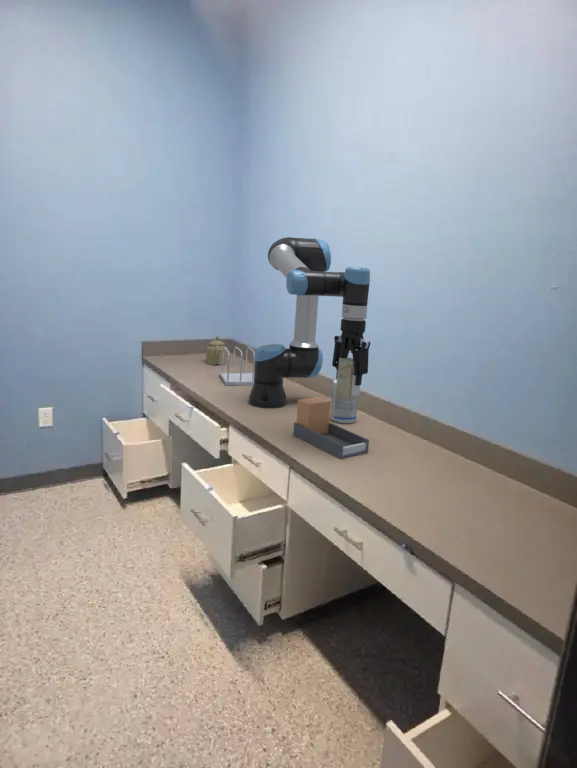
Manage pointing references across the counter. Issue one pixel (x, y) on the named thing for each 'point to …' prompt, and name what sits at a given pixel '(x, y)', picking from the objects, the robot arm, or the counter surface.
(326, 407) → the block
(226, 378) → the file sorter
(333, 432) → the tray
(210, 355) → the sugar bowl
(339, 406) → the supplement tub
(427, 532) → the counter surface
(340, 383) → the skincare box
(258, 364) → the robot arm
